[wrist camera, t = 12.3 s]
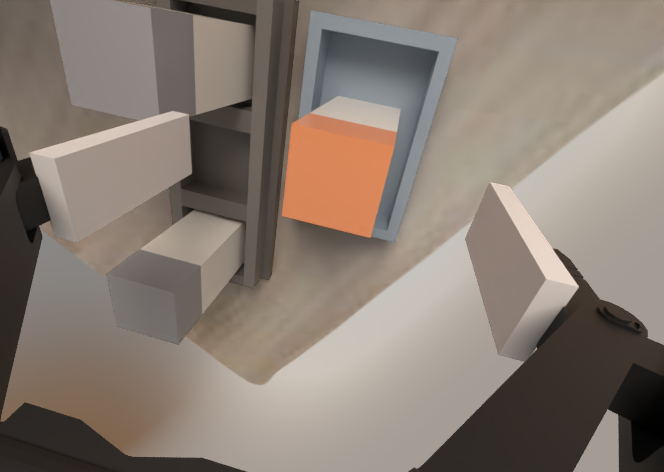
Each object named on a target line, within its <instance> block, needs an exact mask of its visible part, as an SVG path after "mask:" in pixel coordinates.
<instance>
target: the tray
mask: <svg viewBox="0 0 664 472" xmlns="http://www.w3.org/2000/svg"><path fill="white" fill-rule="evenodd" d="M457 40H458V38H454V37H449V36H443V35H438V34H433V33H428V32H423V31H417V30H412V29H407V28H402V27H396V26H391V25H386V24H381V23H375V22H370V21H365V20H360V19H354V18H349V17H344V16H339V15H333V14H328V13H323V12H318V11H312V10H311V12H310V21H309V30H308V38H307V47H306V56H305V64H304V73H303V81H302V90H301V99H300V107H299V116H298V120H299V119H300V118H302V117H304V116H305V115H307V114H309V113H310V112H312V111H314V110H315V109H317V108H319V107H320V106H322V105H324V104H325V103H327V102H329V101H330V100H332V99H334V98H335V97H337V96H342V97H347V98H351V99H356V100H361V101H365V102H370V103H375V104H379V105H384V106H389V107H394V108H398V109H401V111H400V117H399V123H398V129H397V135H396V141H395V147H394V151H393V155H392V158H391V162H390V166H389V170H388V174H387V177H386V181H385V185H384V189H383V193H382V196H381V200H380V204H379V208H378V211H377V215H376V219H375V223H374V227H373V230H372V234H371V237H375V238H379V239H383V240H387V241H391V242H395V241H396V237H397V234H398V231H399V228H400V224H401V221H402V218H403V215H404V211H405V208H406V205H407V202H408V198H409V195H410V192H411V189H412V186H413V182H414V179H415V176H416V173H417V169H418V166H419V163H420V160H421V156H422V153H423V150H424V147H425V143H426V140H427V137H428V134H429V130H430V127H431V124H432V121H433V118H434V114H435V111H436V108H437V105H438V101H439V98H440V95H441V92H442V88H443V85H444V82H445V79H446V75H447V72H448V69H449V66H450V62H451V59H452V56H453V53H454V50H455V46H456V43H457Z"/></svg>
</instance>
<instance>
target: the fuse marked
mask: <svg viewBox="0 0 664 472" xmlns="http://www.w3.org/2000/svg"><path fill="white" fill-rule="evenodd" d="M400 111H401V109H398V108H394V107H389V106H384V105H379V104H375V103H370V102H365V101H361V100H356V99H351V98H347V97H342V96H337V97H335V98H334V99H332V100H330V101H329V102H327V103H325V104H324V105H322V106H320V107H319V108H317V109H315V110H314V111H312V112H310V113H309V114H307V115H305V116H304V117H302V118H300V119H299V120H297V121H295V122H294V123H292V126H291V135H290V144H289V154H288V163H287V172H286V182H285V191H284V200H283V210H282V216H284V217H288V218H292V219H296V220H300V221H304V222H308V223H312V224H316V225H320V226H324V227H328V228H332V229H336V230H340V231H344V232H348V233H352V234H356V235H360V236H364V237H368V238H371V234H372V230H373V227H374V223H375V219H376V215H377V211H378V208H379V204H380V200H381V196H382V193H383V189H384V185H385V181H386V177H387V174H388V170H389V166H390V162H391V158H392V155H393V151H394V147H395V141H396V135H397V129H398V123H399V117H400Z"/></svg>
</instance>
